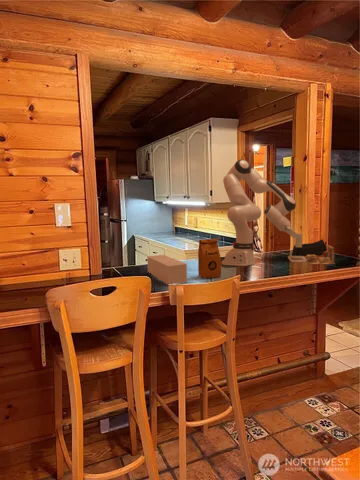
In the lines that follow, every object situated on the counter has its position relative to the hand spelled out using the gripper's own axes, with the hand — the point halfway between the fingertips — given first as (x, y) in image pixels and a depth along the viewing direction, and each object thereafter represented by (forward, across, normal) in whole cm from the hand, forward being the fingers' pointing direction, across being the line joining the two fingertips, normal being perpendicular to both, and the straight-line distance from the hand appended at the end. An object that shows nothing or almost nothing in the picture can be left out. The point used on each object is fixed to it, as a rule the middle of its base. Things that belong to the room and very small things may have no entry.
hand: (298, 239), depth 220 cm
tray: (+10, -1, +11) cm, 15 cm away
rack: (+19, -7, +2) cm, 20 cm away
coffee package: (-29, -45, +51) cm, 74 cm away
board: (+4, 0, +4) cm, 5 cm away
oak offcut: (+13, -7, +3) cm, 15 cm away
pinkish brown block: (-47, -49, +68) cm, 96 cm away
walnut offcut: (+15, -7, +5) cm, 17 cm away
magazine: (+19, +22, +2) cm, 29 cm away
